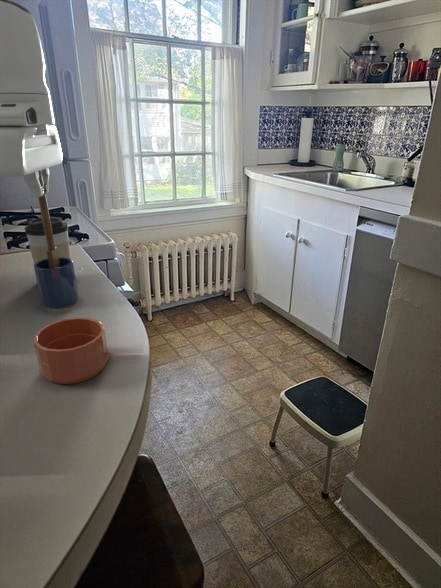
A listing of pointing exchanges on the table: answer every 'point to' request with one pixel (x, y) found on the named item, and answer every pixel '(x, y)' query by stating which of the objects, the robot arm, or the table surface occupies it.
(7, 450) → the table surface
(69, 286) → the crock
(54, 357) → the bowl
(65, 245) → the coffee cup
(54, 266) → the wooden stirring stick
